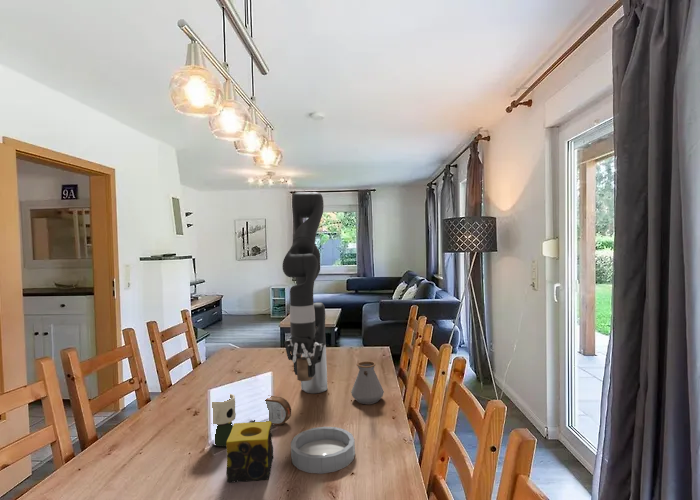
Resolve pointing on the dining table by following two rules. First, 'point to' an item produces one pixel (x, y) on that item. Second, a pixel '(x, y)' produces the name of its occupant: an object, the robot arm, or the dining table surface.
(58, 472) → the dining table surface
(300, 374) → the walnut bead
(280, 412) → the tin
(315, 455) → the round tray
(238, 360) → the dining table surface
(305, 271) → the robot arm
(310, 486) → the dining table surface
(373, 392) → the coffee pot
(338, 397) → the dining table surface
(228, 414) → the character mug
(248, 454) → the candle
